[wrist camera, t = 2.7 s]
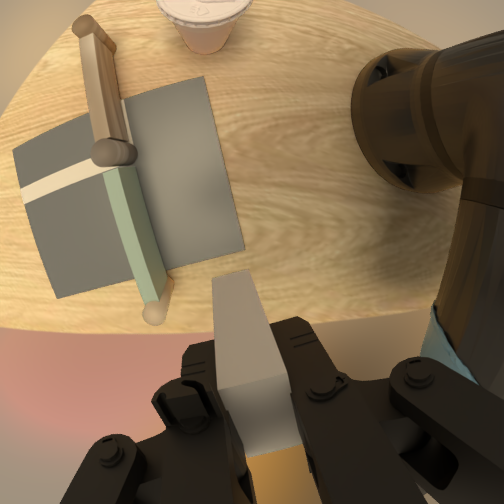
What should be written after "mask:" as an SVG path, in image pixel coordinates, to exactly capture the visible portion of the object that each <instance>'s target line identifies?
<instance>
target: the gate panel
mask: <svg viewBox="0 0 504 504" xmlns="http://www.w3.org/2000/svg"><path fill="white" fill-rule="evenodd" d="M103 177H104V181H105V185H106V189H107V192H108V196H109V200H110V203H111V207H112V210H113V214H114V217H115V220H116V224H117V227H118V230H119V233H120V236H121V240H122V243H123V246H124V249H125V252H126V255H127V258H128V261H129V264H130V266H131V269H132V272H133V275H134V278H135V280H136V283H137V286H138V289H139V291H140V294H141V296H142V299H143V302H144V304H145V307H144V309H143V312H142V315H143V318H144V320H145V321H146V322H147V323H148V324H150V325H153V326H158V325H161V324H162V323H163V322H164V321H165V319H166V315H167V311H168V307H169V303H170V299H171V295H172V292H173V288H174V282H173V280H172V279H171V278H170V277H168V276H167V274H166V271H165V268H164V265H163V262H162V258H161V255H160V252H159V249H158V246H157V243H156V239H155V236H154V233H153V229H152V226H151V223H150V219H149V216H148V212H147V209H146V205H145V202H144V198H143V194H142V191H141V187H140V183H139V179H138V176H137V172H136V168H135V167H123V168H116V169H113V170H110V171H107V172H105V173H103Z"/></svg>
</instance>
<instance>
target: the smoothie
mask: <svg viewBox="0 0 504 504" xmlns="http://www.w3.org/2000/svg"><path fill="white" fill-rule="evenodd" d="M252 1H253V0H156V3H157V6H158V8H159V10H160V11H161V13H162V14H163V15H164V16H165V17H166V18H168V19H169V20H170V21H172V22H173V23H174V25H175V27H176V28H177V30H178V32H179V33H180V35H181V36H182V38H183V40H184V41H185V43H186V45H187V46H188V48H189V49H190V50H192V51H193V52H195V53H198V54H211V53H214V52H216V51H218V50H219V49H221V48H222V47H223V45H224V44H225V42H226V40H227V38H228V36H229V34H230V32H231V31H232V29H233V27H234V25H235V23H236V21H237V20H238V18H239V17H240V16H241V15H243V14H244V13H245V11H246V10H247V9H248V8H249V7H250V6H251V3H252Z"/></svg>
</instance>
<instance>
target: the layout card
mask: <svg viewBox="0 0 504 504" xmlns="http://www.w3.org/2000/svg"><path fill="white" fill-rule="evenodd" d="M120 101H121V106H122V111H123V116H124V121H125V125H126V130H127V134H128V139H129V141H128V142H126V143H130V144H132V145H134V146H135V147H136V149H137V152H138V156H137V159H136V161H135V162H134V163H133V164H131V165H129V166H116V167H98V166H96V165H95V164H94V163H93V162H92V160H91V155H90V153H91V148H92V146H93V145H94V143H95V139H94V134H93V129H92V124H91V119H90V114H89V113H87V114H84V115H82V116H79V117H77V118H75V119H73V120H70V121H68V122H66V123H64V124H61V125H59V126H57V127H55V128H53V129H51V130H49V131H47V132H45V133H43V134H41V135H39V136H37V137H35V138H33V139H31V140H29V141H27V142H25V143H24V144H22V145H20V146H18V147H16V148H14V149H13V156H14V161H15V166H16V171H17V176H18V180H19V185H20V191H21V195H22V199H23V203H24V205H25V209H26V212H27V216H28V219H29V223H30V226H31V229H32V232H33V236H34V239H35V242H36V245H37V248H38V251H39V254H40V256H41V259H42V262H43V265H44V267H45V270H46V273H47V275H48V278H49V280H50V283H51V285H52V288H53V290H54V293H55V295H56V297H57V299H59V298H63V297H67V296H71V295H74V294H78V293H82V292H86V291H90V290H93V289H97V288H101V287H105V286H109V285H112V284H116V283H120V282H124V281H128V280H131V279H135V278H134V275H133V272H132V269H131V266H130V264H129V261H128V258H127V255H126V252H125V249H124V246H123V243H122V240H121V236H120V233H119V230H118V227H117V224H116V220H115V217H114V214H113V210H112V207H111V203H110V200H109V196H108V192H107V189H106V185H105V181H104V177H103V173H105V172H107V171H110V170H113V169H116V168H123V167H135V168H136V172H137V176H138V179H139V183H140V187H141V191H142V194H143V198H144V202H145V205H146V209H147V212H148V216H149V219H150V223H151V226H152V229H153V233H154V236H155V239H156V243H157V246H158V249H159V252H160V255H161V258H162V262H163V265H164V268H165V271H166V270H170V269H174V268H177V267H181V266H185V265H189V264H193V263H197V262H201V261H204V260H208V259H212V258H216V257H220V256H224V255H228V254H231V253H235V252H239V251H243V250H245V246H244V242H243V238H242V234H241V230H240V226H239V222H238V218H237V214H236V210H235V206H234V201H233V197H232V193H231V189H230V185H229V181H228V177H227V173H226V168H225V164H224V160H223V156H222V152H221V148H220V143H219V139H218V135H217V131H216V127H215V123H214V118H213V114H212V110H211V106H210V102H209V97H208V93H207V89H206V85H205V81H204V76H202V77H198V78H193V79H189V80H185V81H182V82H178V83H174V84H171V85H167V86H164V87H160V88H157V89H153V90H150V91H147V92H144V93H141V94H138V95H135V96H132V97H129V98H126V99H122V100H120Z"/></svg>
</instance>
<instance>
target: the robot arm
mask: <svg viewBox="0 0 504 504" xmlns="http://www.w3.org/2000/svg"><path fill="white" fill-rule="evenodd" d="M351 112H352V122H353V127H354V131H355V134H356V138H357V140H358V143H359V145H360V148H361V150H362V152H363V154H364V155H365V157H366V159H367V160H368V162H369V163H370V164H371V166H372V167H373V168H374V169H375V171H376V172H377V173H378V174H379V175H380V176H381V177H383V178H384V179H385V180H386V181H388V182H389V183H391V184H392V185H394V186H396V187H399V188H401V189H404V190H408V191H413V192H418V193H436V192H440V191H444V190H447V189H450V188H453V187H456V186H459V185H462V191H461V198H460V202H459V208H458V213H457V219H456V224H455V229H454V234H453V238H452V243H451V247H450V251H449V255H448V259H447V263H446V267H445V271H444V274H443V278H442V282H441V285H440V288H439V292H438V295H437V298H436V300H434V302H433V304H432V306H431V312H430V316H431V319H430V322H429V326H428V329H427V332H426V335H425V338H424V341H423V344H422V348H421V353H420V357H413V358H408V359H406V360H403V361H401V362H399V363H398V364H397V365H396V366H395V367H394V368H393V369H392V372H391V374H390V377H389V378H386V379H379V380H372V381H358V380H353V379H351V378H349V377H348V376H347V374H345V373H342V372H340V371H338V370H337V369H336V367H335V366H334V364H333V362H332V360H331V359H330V357H329V356H328V354H327V352H326V350H325V349H324V347H323V345H322V344H321V342H320V341H319V339H318V337H317V336H316V334H315V333H314V331H313V329H312V327H311V326H310V324H309V322H307V321H305V320H304V319H302V318H300V317H298V316H296V317H293V318H289V319H286V320H282V321H279V322H275V323H272V324H269V323H268V320H267V317H266V315H265V312H264V309H263V306H262V304H261V301H260V298H259V296H258V293H257V290H256V288H255V285H254V282H253V279H252V277H251V274H250V271H249V269H246V270H242V271H238V272H234V273H231V274H227V275H223V276H219V277H215V278H212V296H213V320H214V340H210V341H205V342H201V343H197V344H192V345H189V347H188V348H187V350H186V351H185V353H184V354H183V356H182V369H181V377H180V378H177V379H174V380H171V381H169V382H168V383H166V384H165V385H163V386H161V387H160V388H159V389H158V390H157V392H155V394H154V396H153V398H152V401H151V402H152V404H153V406H154V408H155V409H156V411H157V413H158V414H159V416H160V418H161V419H162V421H163V422H164V424H165V426H166V430H164V431H163V432H162V433H160V434H158V435H156V436H154V437H151V438H148V439H146V440H143V441H140V442H138V443H135V442H134V441H133V440H132V439H131V438H130V437H129V436H126V435H122V434H111V435H109V436H105V437H103V438H101V439H100V440H98V441H97V442H95V443H94V445H93V446H92V447H91V448H90V449H89V451H88V453H87V455H86V456H85V458H84V460H83V462H82V463H81V466H80V467H79V469H78V471H77V473H76V474H75V476H74V478H73V480H72V482H71V483H70V485H69V487H68V489H67V491H66V493H65V495H64V497H63V498H62V500H61V502H60V504H257V501H256V496H255V491H254V486H253V480H252V475H251V472H250V470H249V468H248V466H247V464H246V457H245V453H246V455H247V457H253V456H257V455H262V454H266V453H270V452H274V451H278V450H282V449H285V448H289V447H293V446H296V445H300V444H303V445H304V448H305V452H306V457H307V462H308V466H309V471H310V473H312V475H313V478H314V481H315V484H316V487H317V490H318V493H319V496H320V499H321V501H322V504H428V503H427V501H426V500H425V498H424V496H423V495H422V493H421V491H420V490H419V488H418V486H417V485H416V483H417V484H418V485H419V486H420V487H421V488H423V489H424V490H425V491H426V492H427V493H428V494H430V496H432V497H433V498H434V499H435V500H436V501H437V502H438V503H439V504H504V30H501V31H498V32H494V33H491V34H488V35H485V36H481V37H479V38H475V39H472V40H469V41H466V42H463V43H460V44H458V45H455V46H452V47H449V48H446V49H443V50H441V51H438V50H427V49H412V48H401V49H395V50H391V51H389V52H386V53H384V54H382V55H380V56H379V57H377V58H375V59H373V60H372V61H370V62H369V63H368V64H367V65H366V66H365V67H364V68H363V70H362V71H361V73H360V74H359V76H358V78H357V80H356V83H355V86H354V89H353V94H352V103H351ZM415 482H416V483H415Z"/></svg>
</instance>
